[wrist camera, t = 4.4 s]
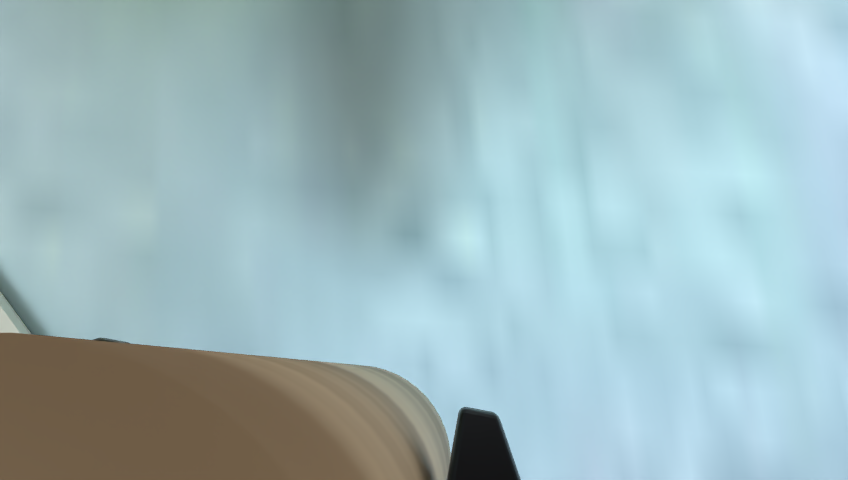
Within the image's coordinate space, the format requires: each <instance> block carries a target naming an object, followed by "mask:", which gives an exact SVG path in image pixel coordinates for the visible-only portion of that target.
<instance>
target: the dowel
mask: <svg viewBox="0 0 848 480" xmlns="http://www.w3.org/2000/svg"><path fill="white" fill-rule="evenodd" d="M450 459H451V454H450V447H449V441H448V437H447V434H446V430H445V427H444V425H443V423H442V420H441V418H440V416H439V414H438V413H437V411H436V409H435V408H434V406H433V405H432V404H431V402H430V401H429V400H428V398H427V397H426V396H425V395H424V394H423V393H422V392H421V391H420V390H419V389H418V388H417V387H415V386H414V385H413V384H411V383H410V382H409V381H407V380H406V379H404V378H402V377H400V376H399V375H397V374H394V373H392V372H389V371H387V370H384V369H380V368H376V367H370V366H362V365H351V364H340V363H330V362H319V361H308V360H298V359H287V358H277V357H266V356H255V355H245V354H234V353H223V352H213V351H202V350H192V349H181V348H170V347H160V346H149V345H138V344H128V343H117V342H106V341H96V340H85V339H75V338H64V337H53V336H43V335H32V334H21V333H0V480H447V476H448V470H449V464H450Z"/></svg>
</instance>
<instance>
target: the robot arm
mask: <svg viewBox="0 0 848 480" xmlns="http://www.w3.org/2000/svg"><path fill="white" fill-rule="evenodd" d="M94 340H96V341H106V342H117V343H128V342H123V341H117V340H112V339H107V338H97V339H94ZM128 344H130V343H128ZM447 480H521V479H520V476H519V474H518V471H517V468H516V465H515V462H514V459H513V456H512V453H511V450H510V447H509V444H508V441H507V438H506V436H505V433H504V430H503V427H502V424H501V421H500V419H499V417H498V416H497V414H495V413H493V412H490V411H485V410H479V409H474V408H469V407H464V408H461V409H460V410H459V413H458V419H457V424H456V430H455V436H454V442H453V447H452V453H451V459H450V464H449V470H448V476H447Z"/></svg>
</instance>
